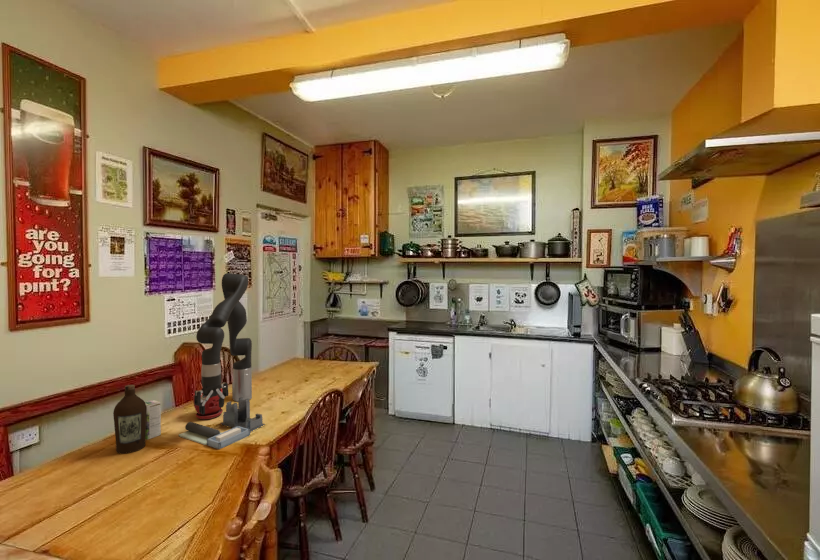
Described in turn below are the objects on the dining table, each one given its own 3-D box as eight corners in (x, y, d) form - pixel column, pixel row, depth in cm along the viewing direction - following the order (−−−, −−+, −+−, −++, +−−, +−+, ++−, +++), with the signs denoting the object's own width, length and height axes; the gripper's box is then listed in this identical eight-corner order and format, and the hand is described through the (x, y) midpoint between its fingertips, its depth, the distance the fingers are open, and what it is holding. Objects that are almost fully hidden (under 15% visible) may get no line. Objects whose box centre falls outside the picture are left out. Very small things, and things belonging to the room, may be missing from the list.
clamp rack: (220, 424, 175) (220, 401, 175) (236, 418, 182) (236, 395, 182) (249, 432, 166) (249, 408, 166) (264, 425, 174) (264, 402, 173)
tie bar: (215, 443, 155) (215, 436, 155) (237, 433, 164) (236, 427, 164) (219, 444, 154) (219, 438, 154) (241, 434, 163) (241, 428, 163)
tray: (206, 445, 154) (206, 439, 154) (238, 431, 167) (238, 426, 167) (219, 449, 151) (219, 443, 151) (250, 435, 164) (250, 429, 164)
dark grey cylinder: (185, 431, 166) (185, 423, 166) (193, 428, 169) (193, 420, 169) (212, 440, 157) (211, 431, 157) (219, 436, 161) (219, 428, 161)
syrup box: (139, 437, 162) (138, 403, 161) (154, 432, 167) (153, 399, 166) (146, 440, 159) (146, 405, 159) (161, 434, 164) (161, 401, 164)
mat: (178, 436, 163) (178, 434, 163) (200, 427, 172) (200, 426, 172) (205, 445, 154) (205, 443, 154) (227, 435, 163) (227, 434, 163)
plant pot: (229, 411, 191) (229, 387, 191) (213, 421, 178) (213, 396, 178) (204, 410, 193) (204, 386, 192) (187, 420, 180) (186, 395, 179)
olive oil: (115, 446, 153) (114, 384, 153) (147, 440, 159) (146, 380, 158) (112, 457, 144) (111, 391, 144) (147, 450, 150) (145, 386, 150)
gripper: (200, 379, 156) (201, 418, 157) (231, 370, 169) (232, 406, 170) (189, 376, 160) (190, 414, 161) (220, 368, 172) (221, 403, 173)
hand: (212, 410), depth 165 cm, fingers open, 8 cm apart
